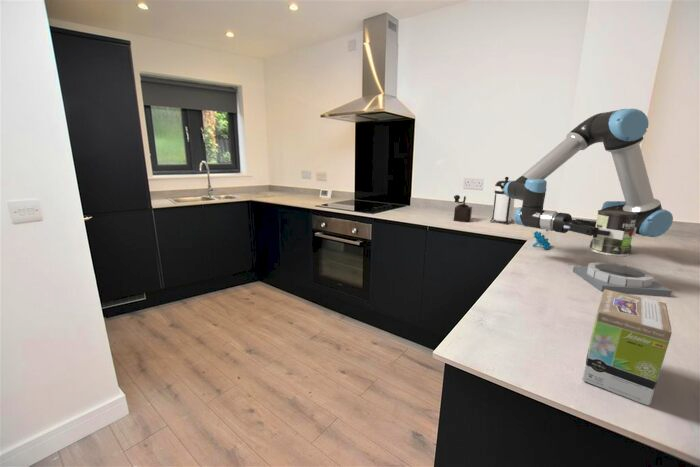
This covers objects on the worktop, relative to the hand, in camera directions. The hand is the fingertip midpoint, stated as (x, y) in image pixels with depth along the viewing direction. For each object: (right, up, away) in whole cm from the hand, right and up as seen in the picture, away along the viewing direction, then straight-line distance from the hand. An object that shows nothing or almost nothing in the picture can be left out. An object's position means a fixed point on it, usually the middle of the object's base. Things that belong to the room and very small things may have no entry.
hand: (629, 233), depth 103 cm
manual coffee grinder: (-16, +8, +110) cm, 111 cm away
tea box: (-39, -28, -41) cm, 63 cm away
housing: (0, -17, +5) cm, 18 cm away
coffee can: (-2, -7, +5) cm, 9 cm away
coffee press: (+10, +8, +108) cm, 108 cm away
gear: (0, -7, +48) cm, 48 cm away
